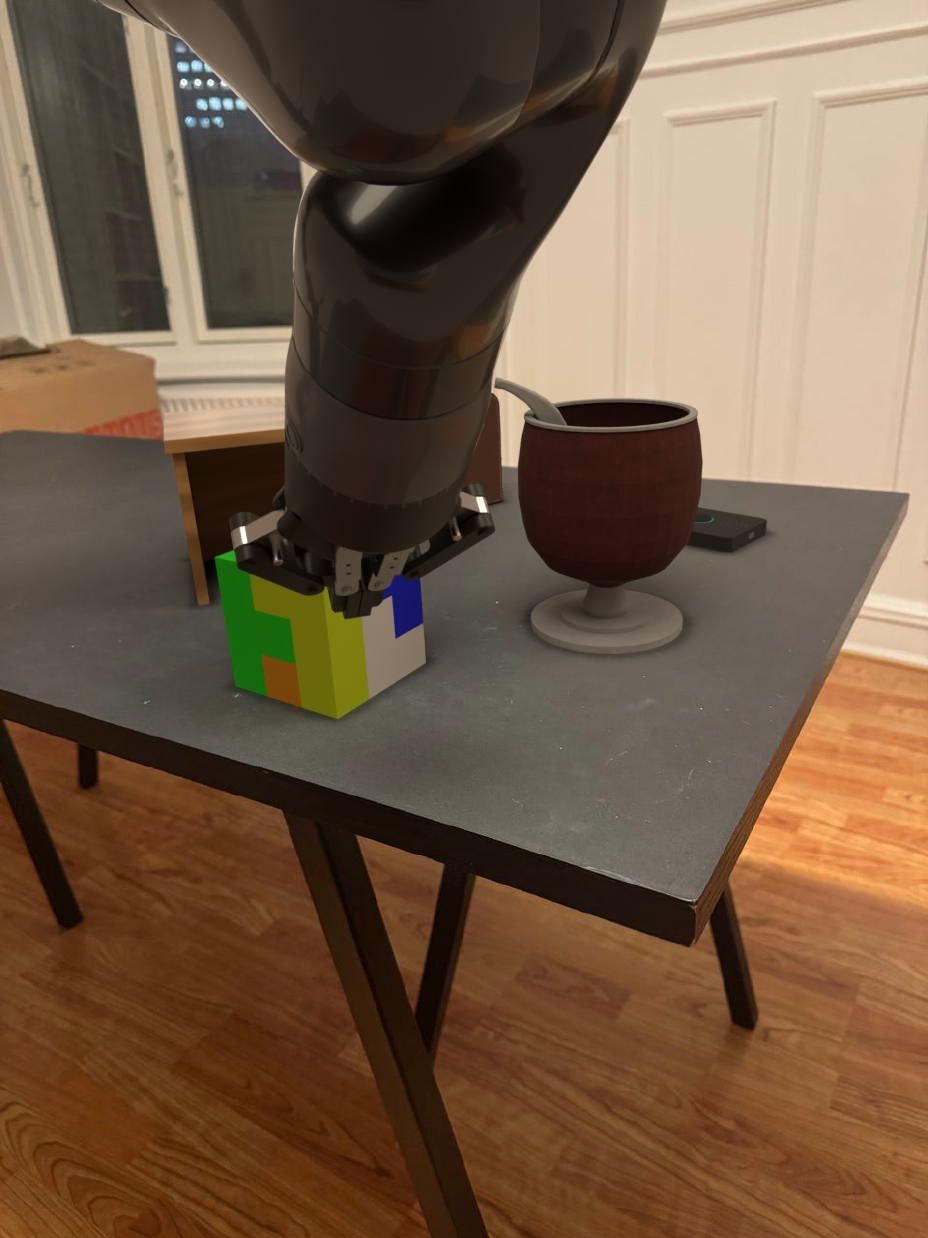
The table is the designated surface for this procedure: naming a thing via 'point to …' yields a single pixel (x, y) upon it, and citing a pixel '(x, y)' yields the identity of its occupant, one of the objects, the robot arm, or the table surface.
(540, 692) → the table surface
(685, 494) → the mate gourd
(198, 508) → the shelf
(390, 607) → the puzzle toy
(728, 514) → the smart home device
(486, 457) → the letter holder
